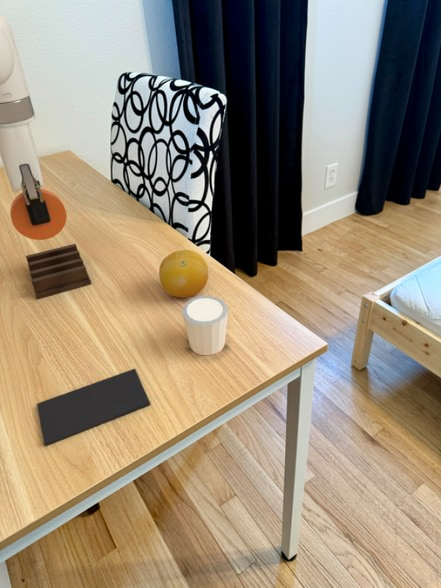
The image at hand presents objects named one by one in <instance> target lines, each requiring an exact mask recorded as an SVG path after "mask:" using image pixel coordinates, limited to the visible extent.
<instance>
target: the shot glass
mask: <svg viewBox="0 0 441 588" xmlns="http://www.w3.org/2000/svg"><path fill="white" fill-rule="evenodd" d="M182 317H183V321H184V326H185V330H186V335H187V340H188V343H189V347H190V349H191V350H192V351H193V352H194V353H195V354H197V355H201V356H213V355H215V354H217V353H220V352H221V351H222V350H223V349H224V347H225V344H226V336H227V327H228V326H227V325H228V317H229V308H228V304H227V303H226V301H224V300H223V299H222V298H219V297H218V296H215V295H199V296H196V297H193V298H191V299H190V300H189V299H188V301H187V302H185V304H184V305H183V307H182Z"/></svg>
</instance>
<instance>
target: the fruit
mask: <svg viewBox="0 0 441 588" xmlns="http://www.w3.org/2000/svg"><path fill="white" fill-rule="evenodd" d="M158 276H159V283H160V285H161V288H163V290H164V291H165V292H166V293H168V294H169V295H170V296H173V297H175V298H188V297H193V296H196V295H198V294H199V293H201V291H203V289H204V288H205V287H206V285H207V283H208V279H209V267H208V264H207V262H206V260H205V259H204V257H203V256H202V255H201V254H199V253H198V252H197V251H194V250H189V249H181V250H175V251H173V252H171V253H170V254H167V256H165V257H164V258H163V260H162V261H161V262H160V264H159V268H158Z"/></svg>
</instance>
